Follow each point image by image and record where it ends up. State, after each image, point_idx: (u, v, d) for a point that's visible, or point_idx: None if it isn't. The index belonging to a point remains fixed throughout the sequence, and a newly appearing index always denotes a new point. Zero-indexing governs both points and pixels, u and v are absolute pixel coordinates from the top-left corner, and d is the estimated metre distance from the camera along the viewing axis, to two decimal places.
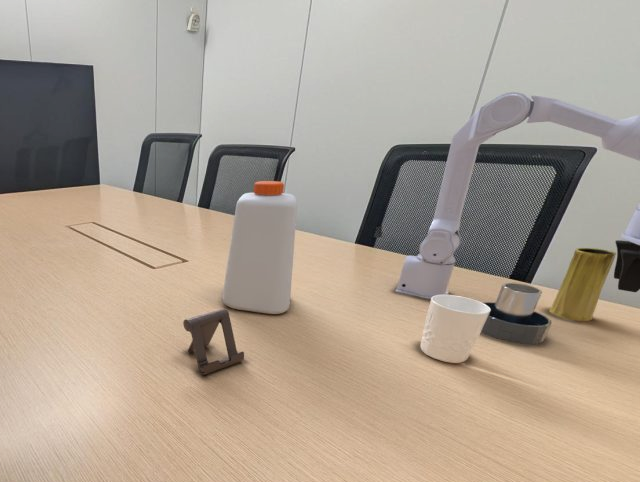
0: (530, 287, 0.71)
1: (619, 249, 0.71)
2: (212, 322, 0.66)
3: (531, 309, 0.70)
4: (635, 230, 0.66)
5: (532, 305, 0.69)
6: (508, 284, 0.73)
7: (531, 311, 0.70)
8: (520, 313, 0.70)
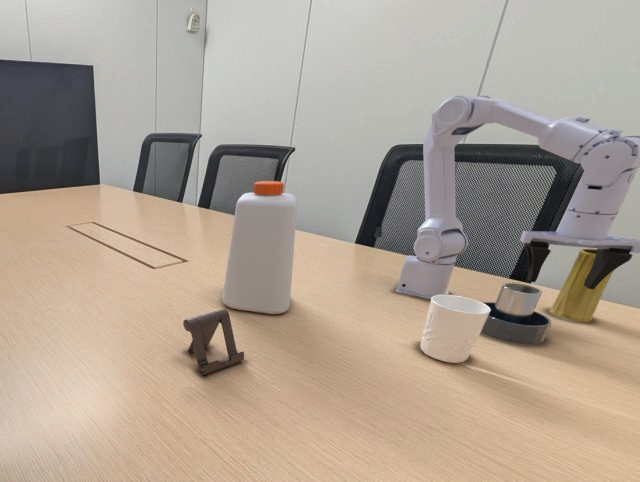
0: (530, 287, 0.71)
1: (596, 255, 0.68)
2: (212, 322, 0.66)
3: (531, 309, 0.70)
4: None
5: (532, 305, 0.69)
6: (508, 284, 0.73)
7: (531, 311, 0.70)
8: (520, 313, 0.70)
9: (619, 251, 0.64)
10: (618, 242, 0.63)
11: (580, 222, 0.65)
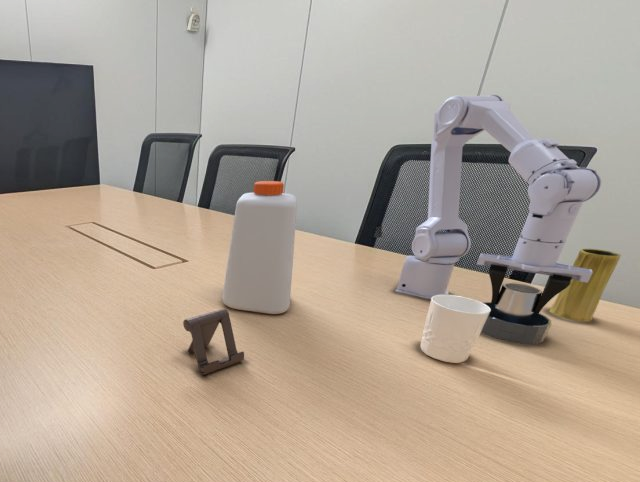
0: (530, 287, 0.71)
1: (547, 281, 0.70)
2: (212, 322, 0.66)
3: (531, 309, 0.70)
4: None
5: (532, 305, 0.69)
6: (508, 284, 0.73)
7: (531, 311, 0.70)
8: (520, 313, 0.70)
9: (561, 278, 0.66)
10: (564, 270, 0.65)
11: (525, 248, 0.67)
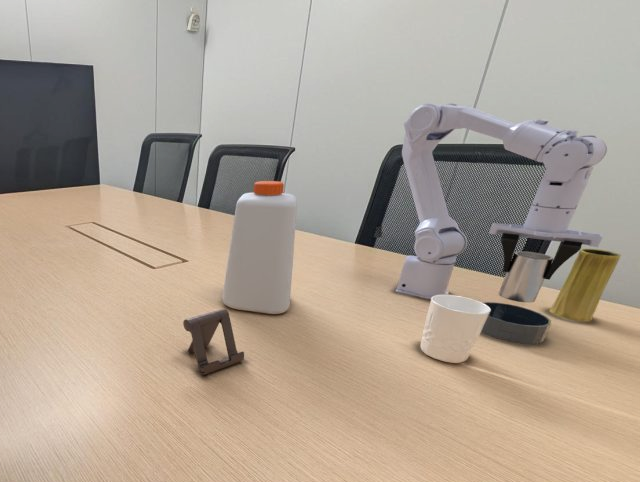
0: (541, 254, 0.73)
1: (558, 248, 0.72)
2: (212, 322, 0.66)
3: (542, 275, 0.72)
4: None
5: (543, 271, 0.72)
6: (520, 252, 0.75)
7: (542, 277, 0.72)
8: (531, 279, 0.73)
9: (571, 244, 0.69)
10: (574, 235, 0.68)
11: (537, 215, 0.70)
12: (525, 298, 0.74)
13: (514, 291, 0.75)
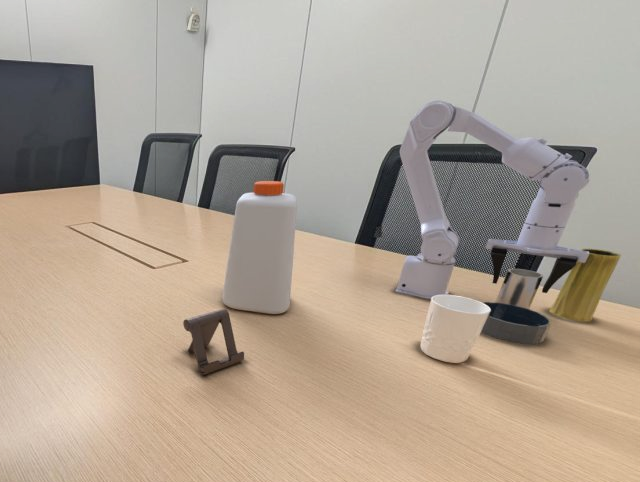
0: (532, 272, 0.79)
1: None
2: (212, 322, 0.66)
3: (533, 291, 0.78)
4: None
5: (534, 288, 0.78)
6: (513, 269, 0.81)
7: (533, 293, 0.78)
8: (524, 295, 0.79)
9: (567, 260, 0.74)
10: (564, 252, 0.73)
11: (529, 233, 0.75)
12: None
13: None
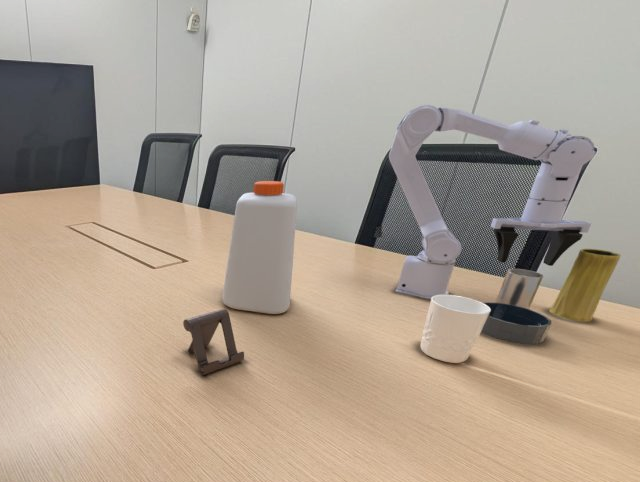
0: (532, 272, 0.79)
1: (551, 236, 0.79)
2: (212, 322, 0.66)
3: (533, 291, 0.78)
4: None
5: (534, 288, 0.78)
6: (513, 269, 0.81)
7: (533, 293, 0.78)
8: (524, 295, 0.79)
9: (571, 232, 0.76)
10: (571, 224, 0.75)
11: (541, 208, 0.75)
12: None
13: None
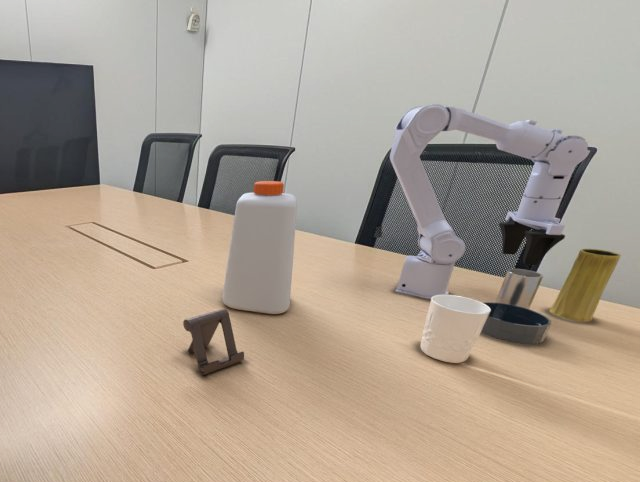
0: (532, 272, 0.79)
1: (506, 230, 0.85)
2: (212, 322, 0.66)
3: (533, 291, 0.78)
4: (529, 214, 0.78)
5: (534, 288, 0.78)
6: (513, 269, 0.81)
7: (533, 293, 0.78)
8: (524, 295, 0.79)
9: None
10: None
11: (558, 206, 0.77)
12: None
13: None
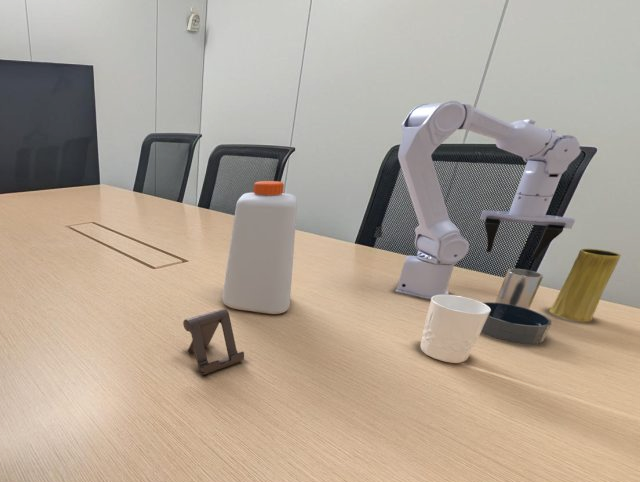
0: (532, 272, 0.79)
1: (497, 229, 0.86)
2: (212, 322, 0.66)
3: (533, 291, 0.78)
4: (540, 212, 0.80)
5: (534, 288, 0.78)
6: (513, 269, 0.81)
7: (533, 293, 0.78)
8: (524, 295, 0.79)
9: None
10: None
11: None
12: None
13: None
